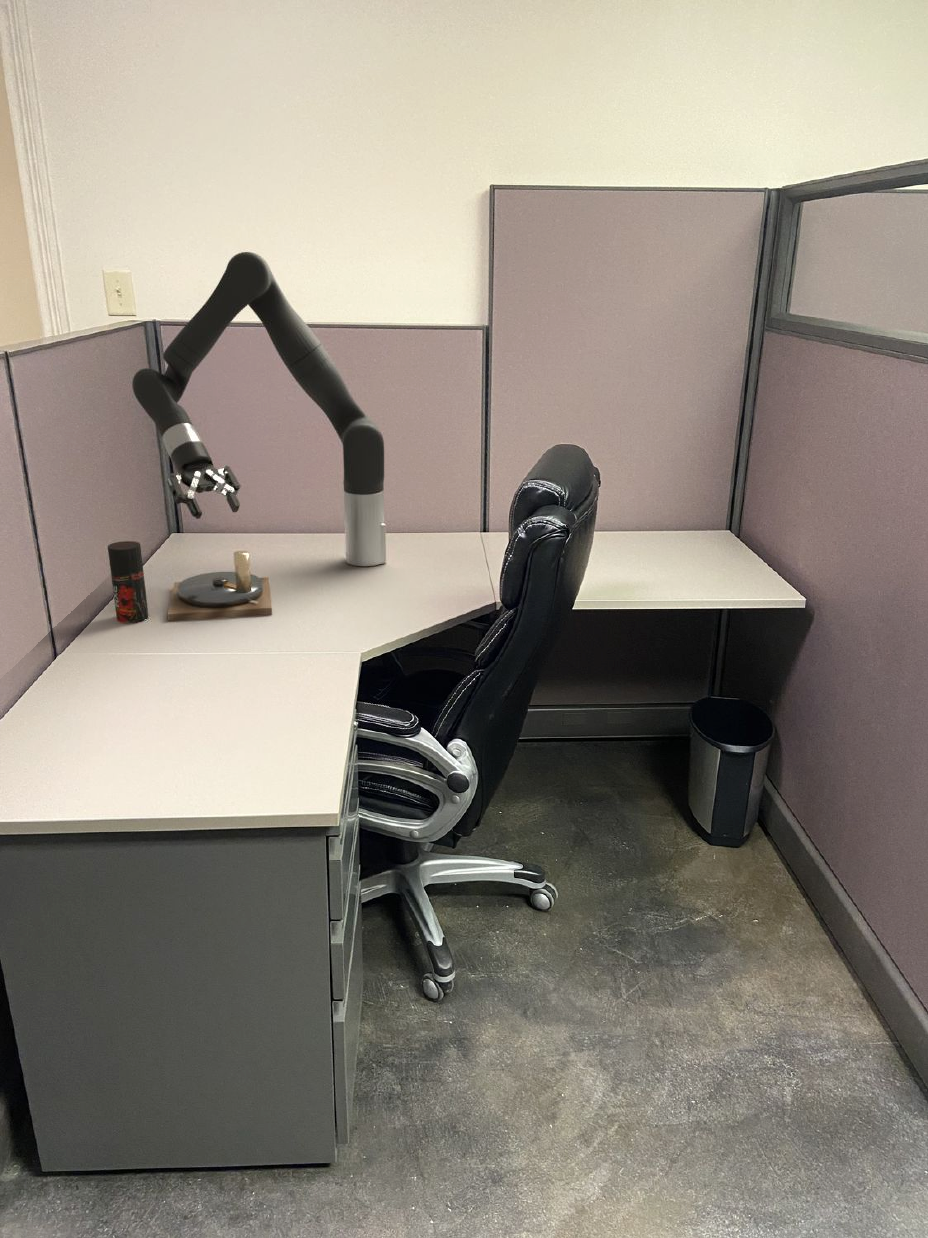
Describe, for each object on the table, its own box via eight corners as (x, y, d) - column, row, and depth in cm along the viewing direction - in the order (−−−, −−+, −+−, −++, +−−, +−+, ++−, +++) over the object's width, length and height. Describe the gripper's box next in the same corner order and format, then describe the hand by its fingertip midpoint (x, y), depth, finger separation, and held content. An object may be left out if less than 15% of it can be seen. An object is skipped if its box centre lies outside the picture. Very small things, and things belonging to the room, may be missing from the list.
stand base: (269, 583, 203) (268, 575, 202) (272, 614, 184) (271, 606, 184) (175, 588, 198) (174, 580, 198) (168, 621, 180) (167, 612, 180)
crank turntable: (263, 578, 200) (260, 534, 197) (262, 604, 184) (258, 557, 181) (182, 582, 197) (178, 537, 194) (174, 609, 181) (169, 560, 178)
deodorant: (155, 616, 183) (146, 543, 177) (133, 625, 178) (124, 551, 172) (132, 611, 185) (123, 539, 180) (110, 620, 180) (100, 547, 175)
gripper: (159, 443, 187) (191, 508, 183) (222, 436, 196) (254, 498, 192) (150, 465, 192) (181, 529, 189) (212, 457, 201) (242, 517, 198)
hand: (218, 513), depth 190 cm, fingers open, 8 cm apart
